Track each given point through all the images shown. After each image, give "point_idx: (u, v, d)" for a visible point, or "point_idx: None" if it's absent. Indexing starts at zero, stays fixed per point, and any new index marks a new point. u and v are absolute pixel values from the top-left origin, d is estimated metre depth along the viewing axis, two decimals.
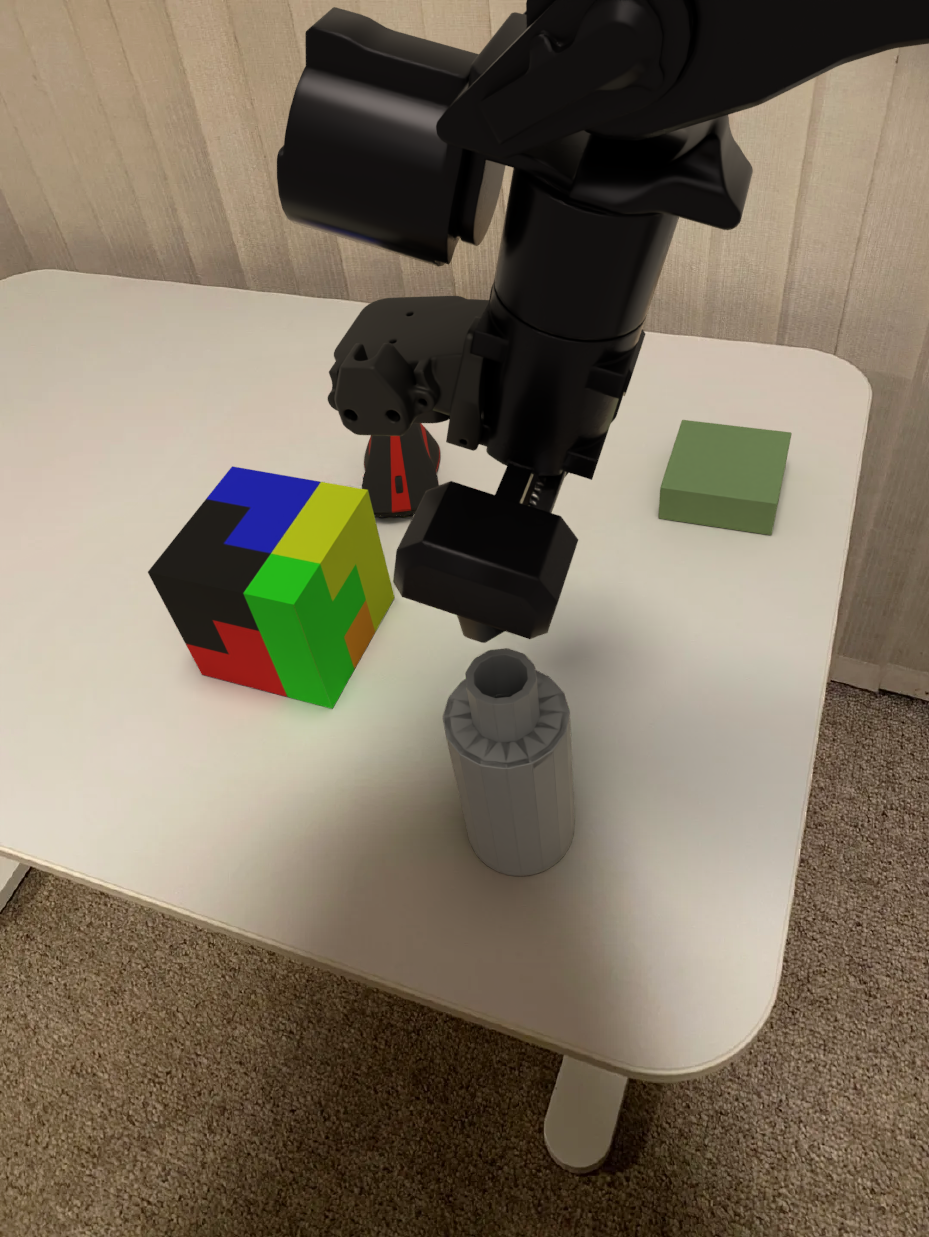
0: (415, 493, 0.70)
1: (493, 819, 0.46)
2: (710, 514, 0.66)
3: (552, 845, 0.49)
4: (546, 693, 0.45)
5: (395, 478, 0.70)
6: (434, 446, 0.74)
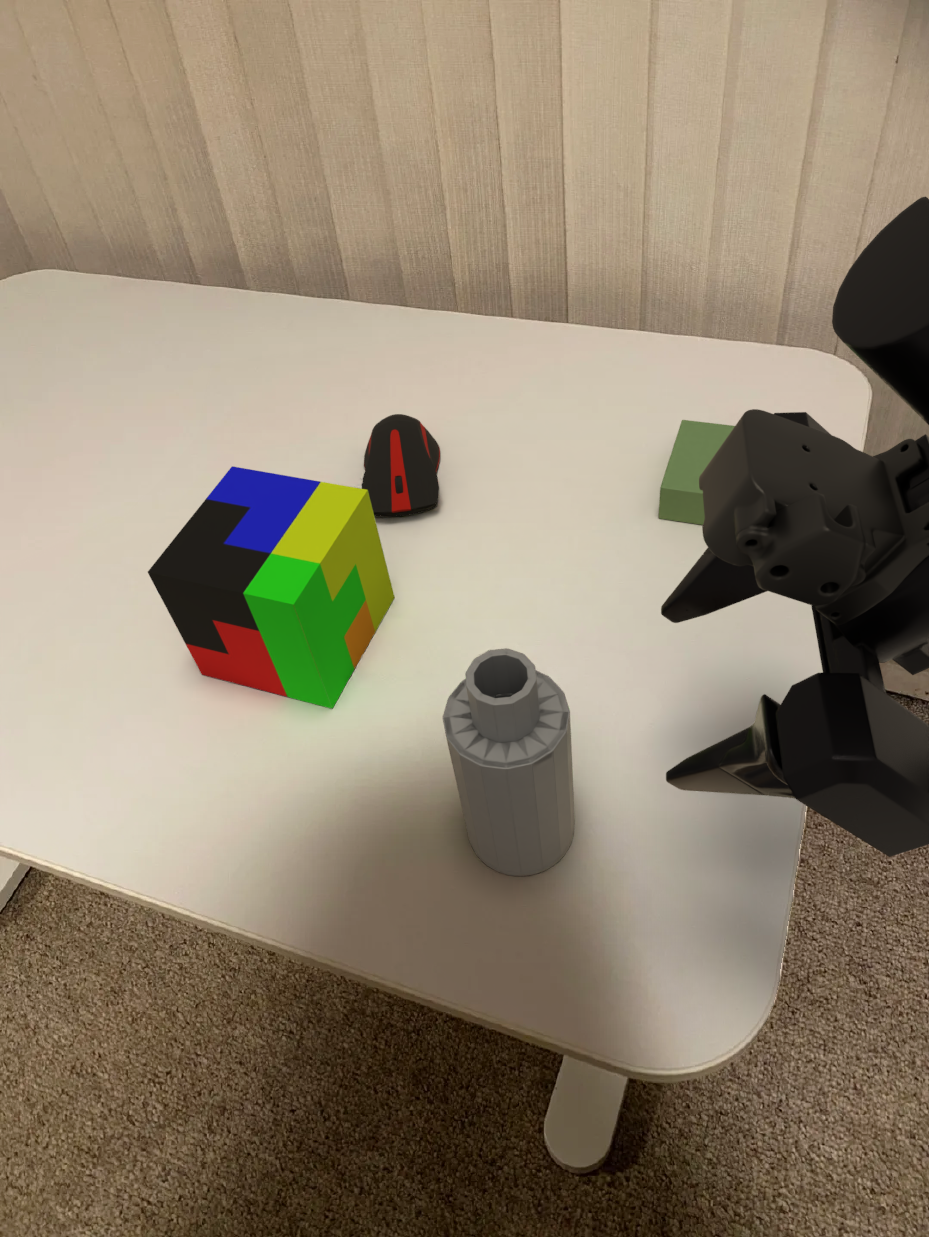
0: (415, 493, 0.70)
1: (493, 819, 0.46)
2: None
3: (552, 845, 0.49)
4: (546, 693, 0.45)
5: (394, 478, 0.70)
6: (434, 446, 0.74)
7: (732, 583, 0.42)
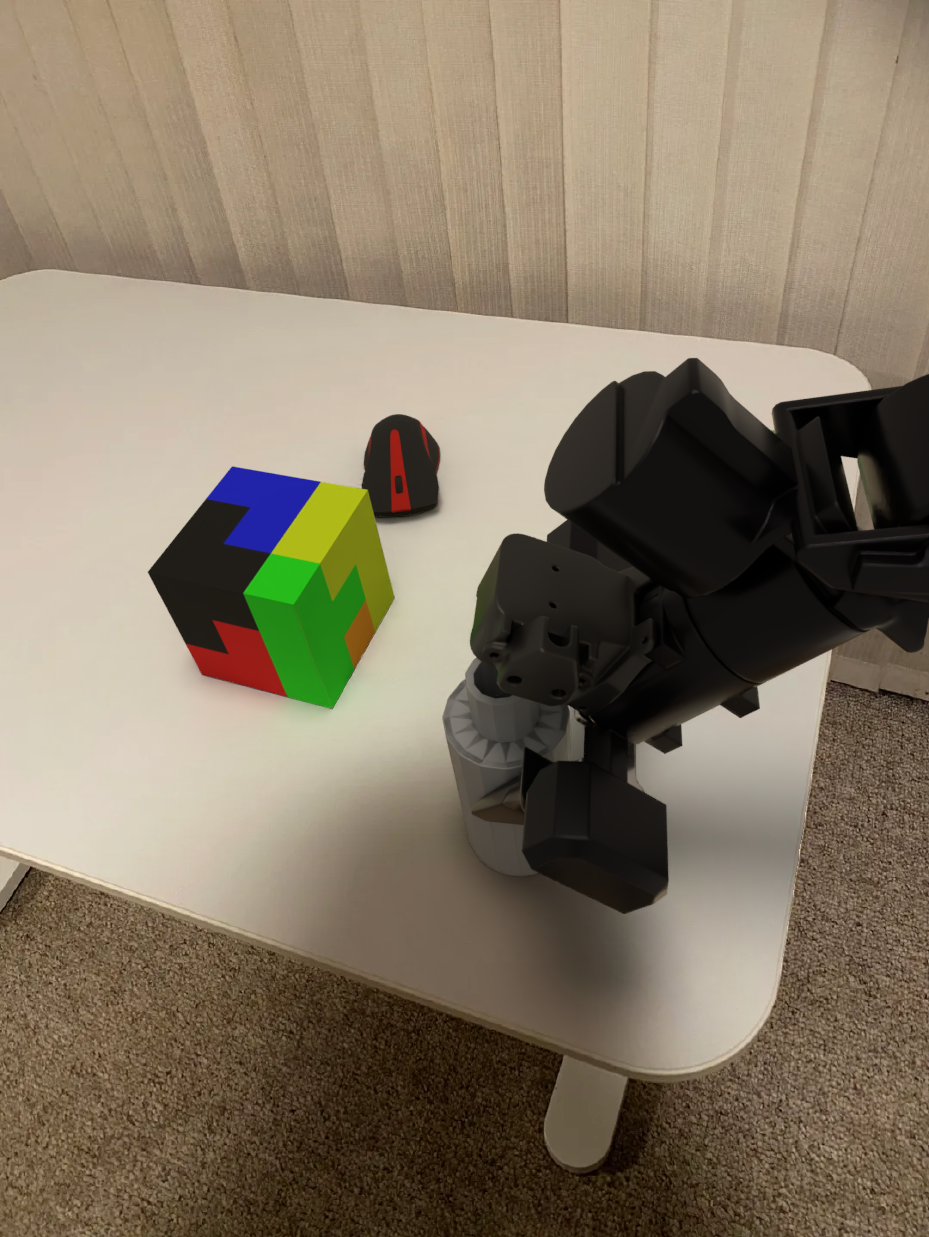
0: (415, 493, 0.70)
1: None
2: None
3: None
4: None
5: (394, 478, 0.70)
6: (434, 446, 0.74)
7: None
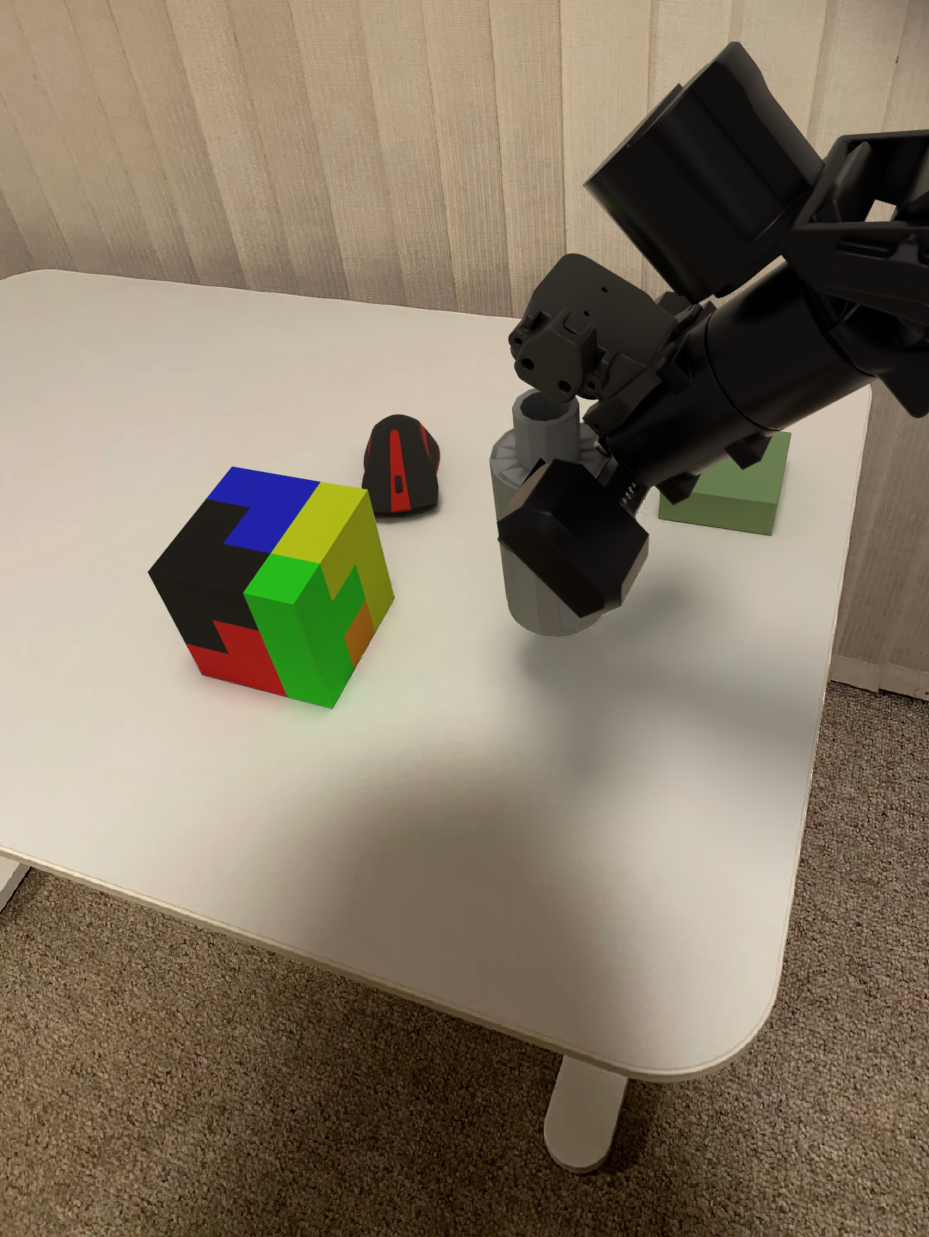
0: (415, 493, 0.70)
1: None
2: (710, 514, 0.66)
3: None
4: (592, 446, 0.47)
5: (394, 478, 0.70)
6: (434, 446, 0.74)
7: None
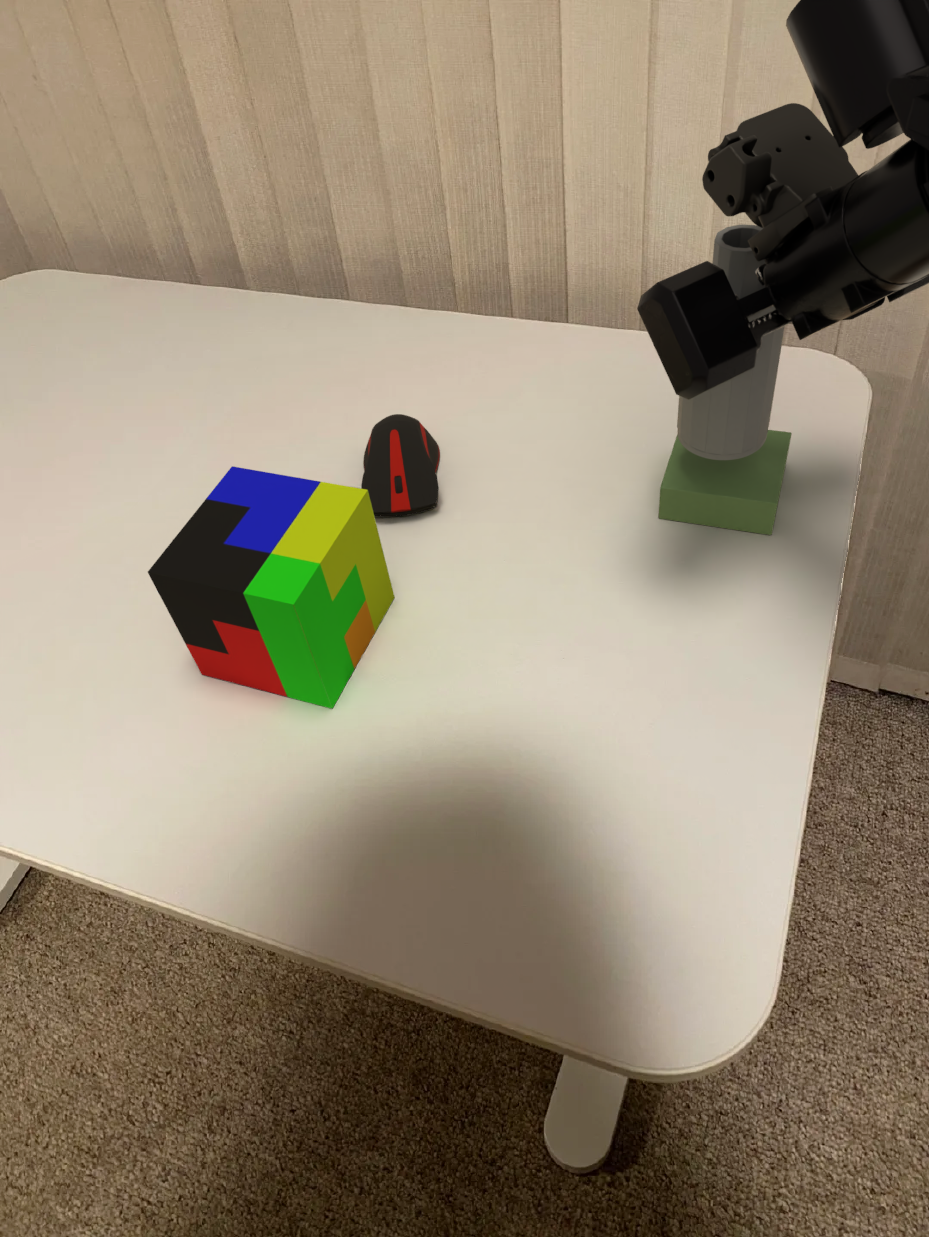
0: (414, 493, 0.70)
1: None
2: (710, 514, 0.66)
3: (718, 432, 0.60)
4: None
5: (394, 478, 0.70)
6: (433, 446, 0.74)
7: None
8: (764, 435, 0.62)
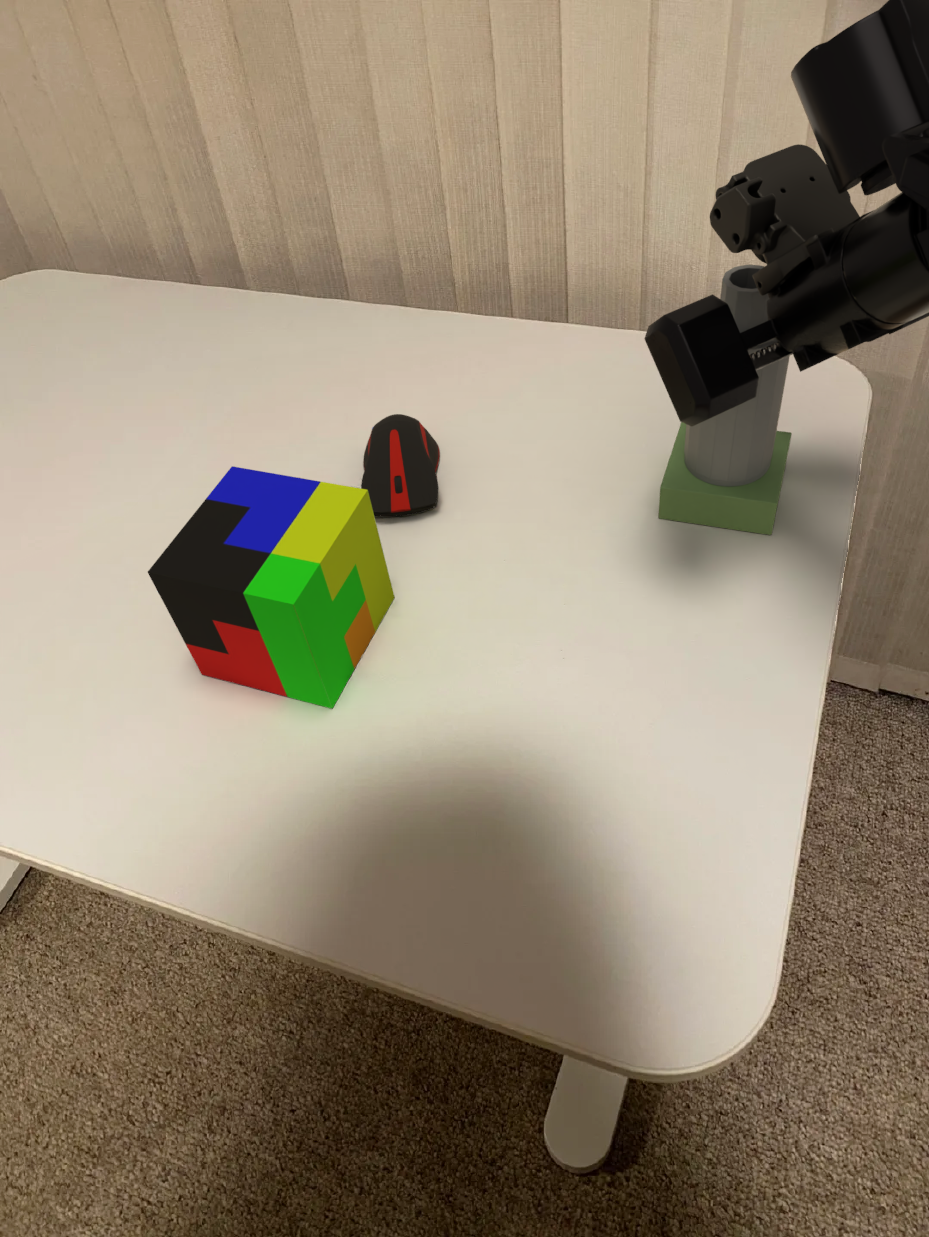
0: (414, 493, 0.70)
1: None
2: (710, 514, 0.66)
3: (723, 460, 0.63)
4: None
5: (394, 478, 0.70)
6: (433, 446, 0.74)
7: None
8: (767, 463, 0.64)
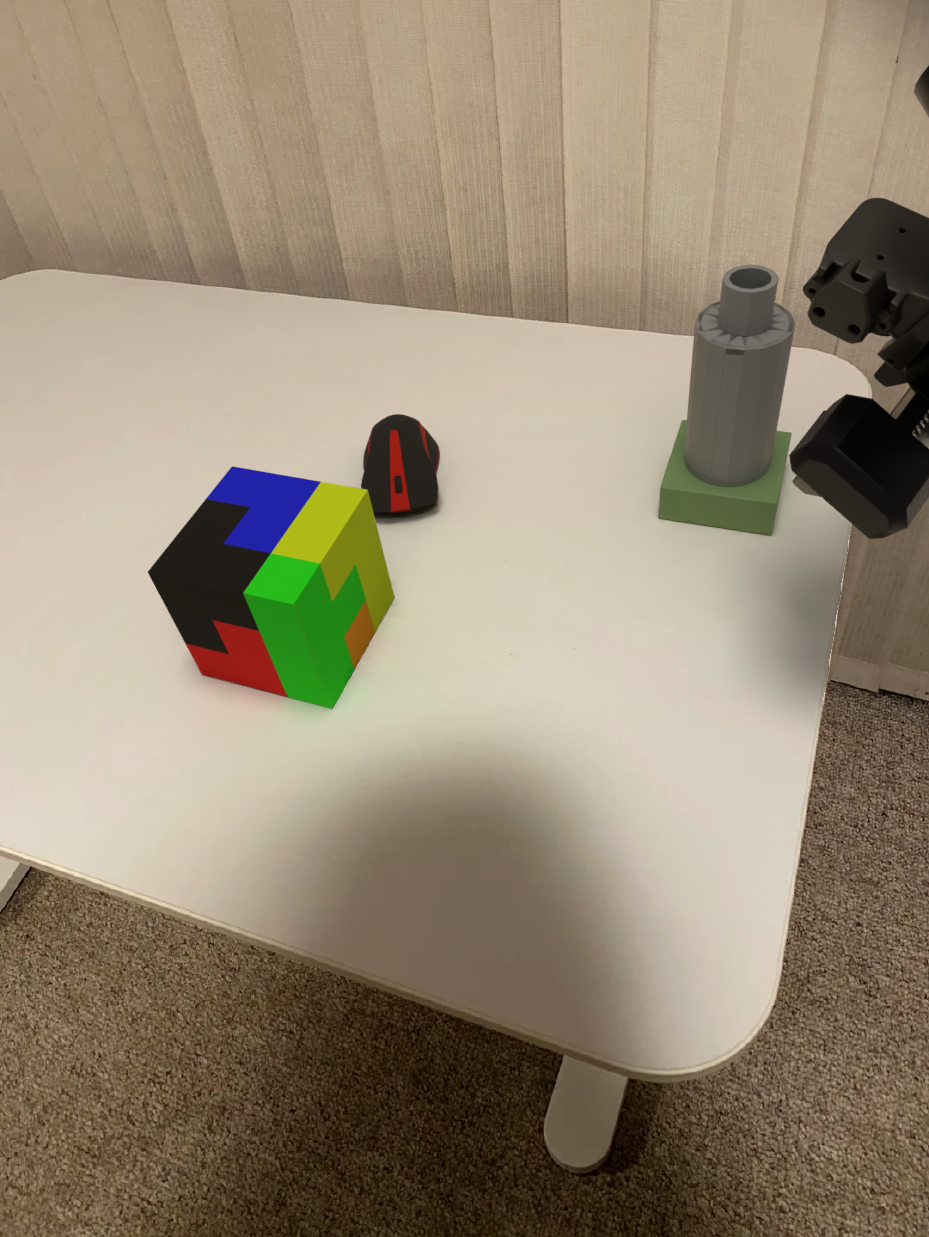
0: (414, 493, 0.70)
1: (694, 398, 0.62)
2: (710, 514, 0.66)
3: (723, 460, 0.63)
4: (781, 327, 0.57)
5: (394, 478, 0.70)
6: (433, 446, 0.74)
7: None
8: (767, 463, 0.64)
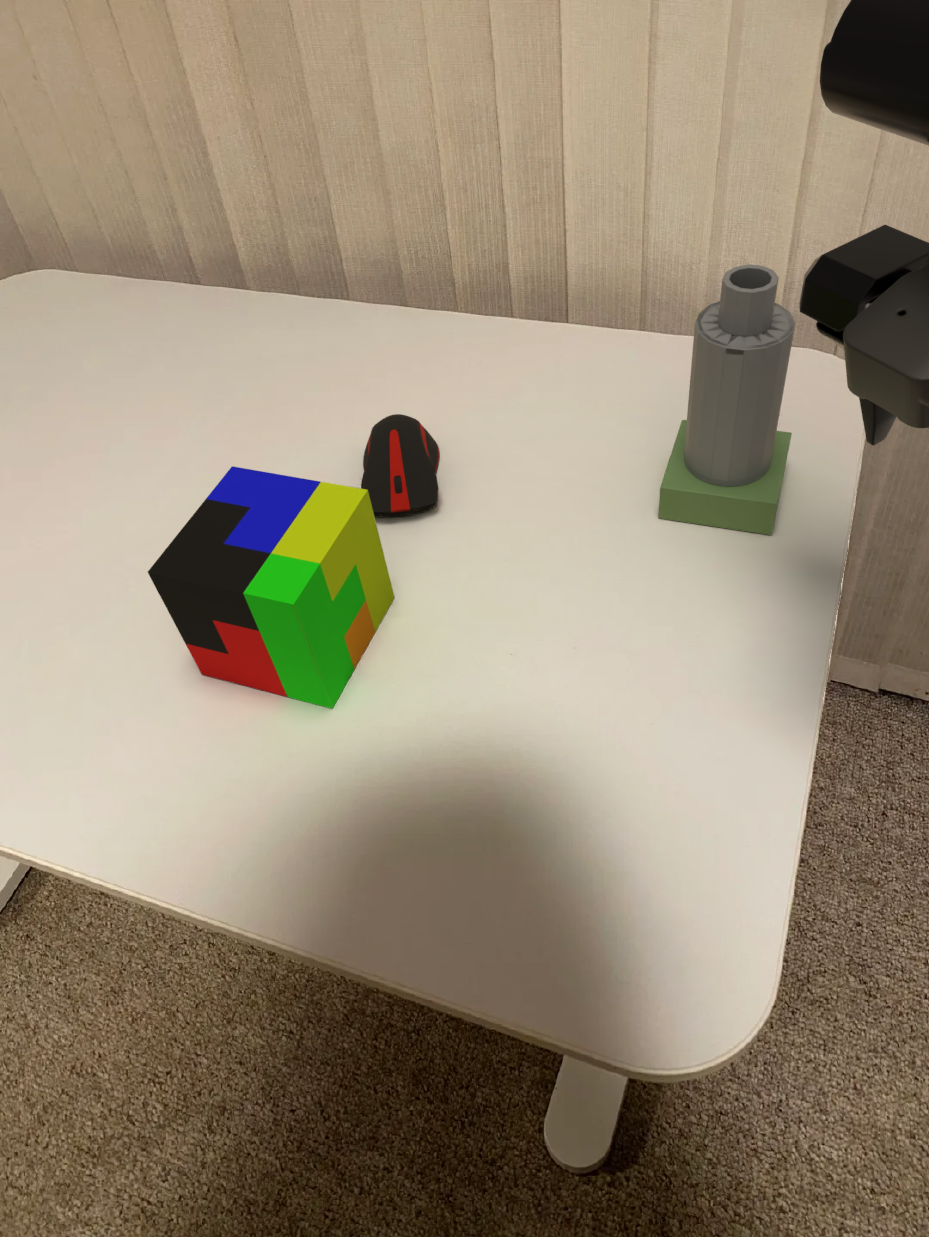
0: (414, 493, 0.70)
1: (694, 398, 0.62)
2: (710, 514, 0.66)
3: (723, 460, 0.63)
4: (781, 327, 0.57)
5: (394, 478, 0.70)
6: (433, 446, 0.74)
7: None
8: (767, 463, 0.64)
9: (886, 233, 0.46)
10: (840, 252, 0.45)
